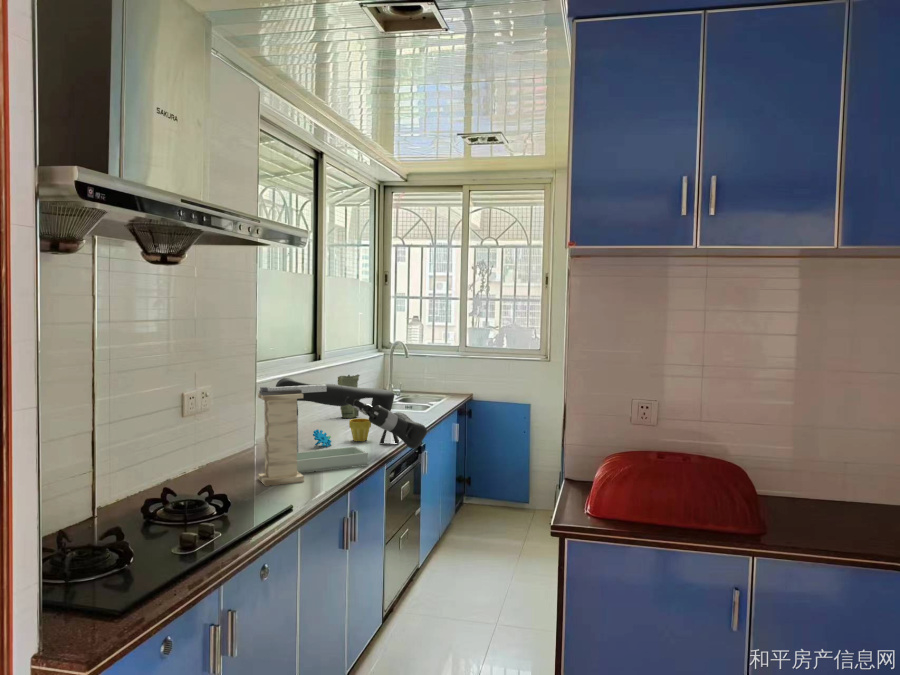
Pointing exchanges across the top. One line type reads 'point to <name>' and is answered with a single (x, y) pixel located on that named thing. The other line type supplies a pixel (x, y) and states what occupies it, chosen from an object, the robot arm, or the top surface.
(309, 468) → the tray
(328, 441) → the gear
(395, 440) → the pliers
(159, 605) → the top surface
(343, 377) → the pouch
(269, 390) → the grey metal block
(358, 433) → the plant pot
